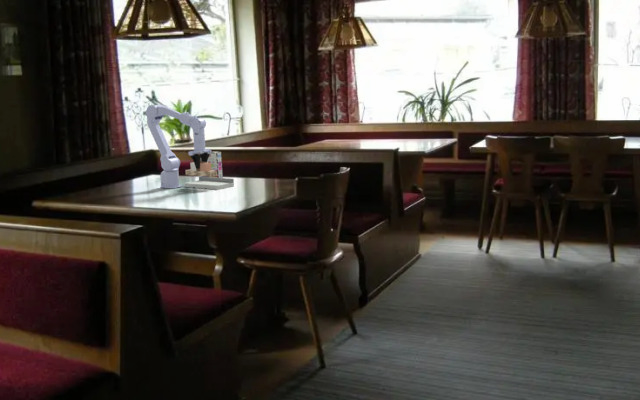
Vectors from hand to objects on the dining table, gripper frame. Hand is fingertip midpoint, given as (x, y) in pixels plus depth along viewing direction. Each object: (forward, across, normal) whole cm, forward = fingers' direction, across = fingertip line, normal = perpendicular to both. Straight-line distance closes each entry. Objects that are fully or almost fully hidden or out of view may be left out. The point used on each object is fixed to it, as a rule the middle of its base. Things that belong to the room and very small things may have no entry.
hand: (201, 168), depth 356 cm
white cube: (+1, 0, +4) cm, 4 cm away
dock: (+10, +5, 0) cm, 12 cm away
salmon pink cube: (+1, 0, -4) cm, 4 cm away
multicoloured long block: (+4, 0, 0) cm, 4 cm away
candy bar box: (+11, +21, +13) cm, 27 cm away
